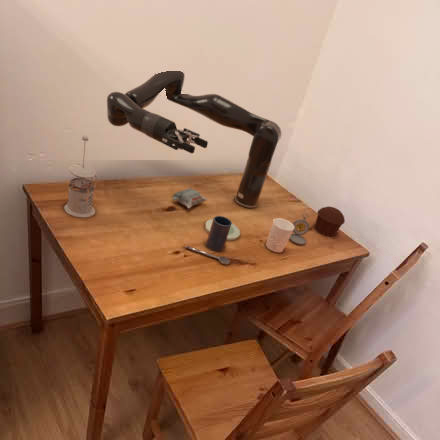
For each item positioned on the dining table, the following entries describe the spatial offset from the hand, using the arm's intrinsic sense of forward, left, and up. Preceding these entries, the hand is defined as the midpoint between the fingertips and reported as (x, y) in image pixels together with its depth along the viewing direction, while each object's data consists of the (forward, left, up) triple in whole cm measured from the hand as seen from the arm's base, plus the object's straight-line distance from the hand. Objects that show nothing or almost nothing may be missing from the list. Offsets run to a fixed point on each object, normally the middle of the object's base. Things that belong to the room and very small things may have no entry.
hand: (200, 147), depth 138 cm
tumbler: (+8, +14, -28) cm, 32 cm away
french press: (+13, -32, -28) cm, 44 cm away
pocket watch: (-17, +42, -28) cm, 54 cm away
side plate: (-4, +14, -28) cm, 32 cm away
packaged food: (-15, -2, -28) cm, 32 cm away
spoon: (+15, +13, -28) cm, 34 cm away
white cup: (-5, +34, -28) cm, 45 cm away
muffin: (-33, +53, -28) cm, 69 cm away
